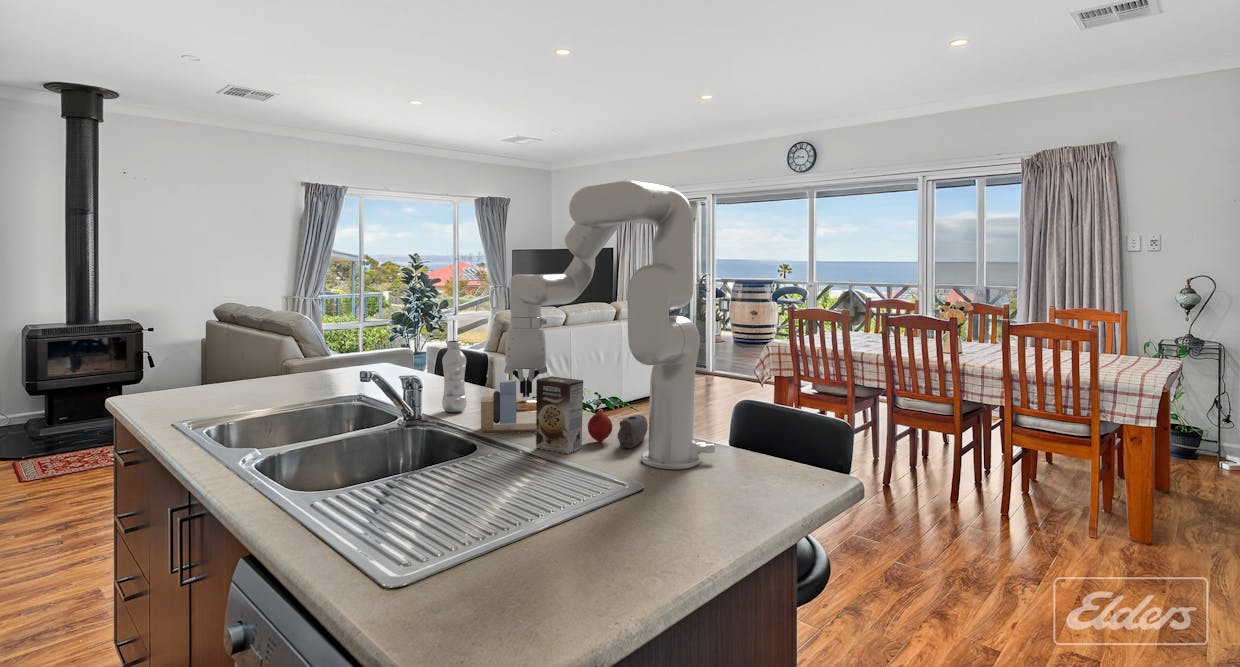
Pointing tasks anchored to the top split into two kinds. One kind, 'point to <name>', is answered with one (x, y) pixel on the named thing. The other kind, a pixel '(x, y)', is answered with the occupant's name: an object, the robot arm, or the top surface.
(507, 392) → the blue-grey stepped block
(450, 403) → the plastic bottle
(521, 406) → the pipe rig
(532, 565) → the top surface
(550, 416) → the coffee box
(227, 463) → the top surface
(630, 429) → the perforated stone tool
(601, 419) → the onion
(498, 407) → the o ring
